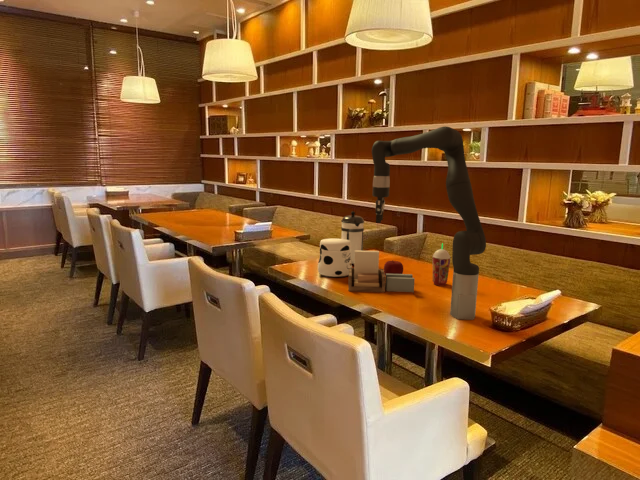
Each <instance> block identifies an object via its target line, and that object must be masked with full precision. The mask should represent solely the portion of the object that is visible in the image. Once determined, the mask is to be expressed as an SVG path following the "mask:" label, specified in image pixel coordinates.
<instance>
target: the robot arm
mask: <svg viewBox="0 0 640 480" xmlns="http://www.w3.org/2000/svg"><path fill="white" fill-rule="evenodd" d="M464 148H465V147H464V140H463V136H462V134H461V132H459V131H458V130H457V129H454V128H452V127H450V126H445V125H444V126H440V127H437V128H435V129H432V130H429V131H426V132H423V133H419V134H415V135H412V136H411V135H410V136H405V137H404V136H403V137H397V138H395V139H393V140H376V141H374V143H373V145H372V147H371V156H372V163H373V165H374V167H373V179H372V194H371V195H372V197H374V198H375V197H376V198H377V199H376V200H375V215H376V216H375V224H376V223H377V224H381V223H382V221H383V217H384V211H385V204H386V200H385V198H388V197H390V185H391V184H390V183H391V180H390V176H391V175H390V174H391V165H390V163H388V162H387V161H386V158H390V157H394V156H400V155H408V154H413V153H415V152H417V151H420V150H423V149H438V150H439V151H442V152H444V155H445V158H446V162H447V174H446V179H445V189H446V193H447V197H448V201H449V203H450V205H451V206H452V207H453V208H454V210H455V211H456V213H458V215H459V216H460V218H461V219H462V220H463V223H464V226H465V229H466V230H460V231H457V232H456V233H455V234H454V236H453V239H452V257H451V258H452V260H451V261H452V262H451V263H452V267H453V268H452V269H453V271H452V285H451V297H450V312H449V315H450V316H451V317H453V318H455V319H457V320H470V321H471V320H474V321H475V318H476V310H477V309H476V308H477V296H478V284H479V275H480V274H479V273H480V267H479V265H478V264H475V263H472V262H471V259H470V258H471V256H476V255H481V254H483V253H484V252H485V250H486V248H487V239H486V236H485V231H484V228H483V226H482V222H481V219H480V217H479V212H478V210H477V207H476V206H477V205H476V202H475V198H474V193H473V191H474V190H473V187H472V183H471V179H470V175H469V172H468V171H469V170H468V166H467V163H466V157H465V156H466V155H465V149H464Z"/></svg>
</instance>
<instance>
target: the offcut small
mask: <svg viewBox="0 0 640 480" xmlns="http://www.w3.org/2000/svg"><path fill="white" fill-rule="evenodd" d="M378 278H379V276H378V274H377V273H357V281H358V283H378Z"/></svg>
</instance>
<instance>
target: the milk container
mask: <svg viewBox="0 0 640 480" xmlns="http://www.w3.org/2000/svg"><path fill="white" fill-rule="evenodd" d="M350 248H351V242H350V241H349V240H346V239H342V238H338V237H337V238H336V237H335V238H323V239H321V240H320V242H319V259H318V262H317V271H318V273H319V275H321V276H322V277H325V278H331V279H335V278H336V279H342V278H346V277H349V268H353V265H352V263H351V259H350V254H351V249H350Z"/></svg>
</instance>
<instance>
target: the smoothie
mask: <svg viewBox="0 0 640 480" xmlns="http://www.w3.org/2000/svg"><path fill="white" fill-rule="evenodd" d="M451 258H452V257H451V256H450V253H449V251H448V250H446V249H444V243H443V242H442V243H441V247H440V248H439V249H437V250H435V252H434V253H433V254H432V282H433V284H434V285H435V286H439V287H440V286H441V287H442V286H443V287H444V286H446V285H447V283H448V280H449V272H450V271H449V270H450V263H451Z"/></svg>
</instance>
